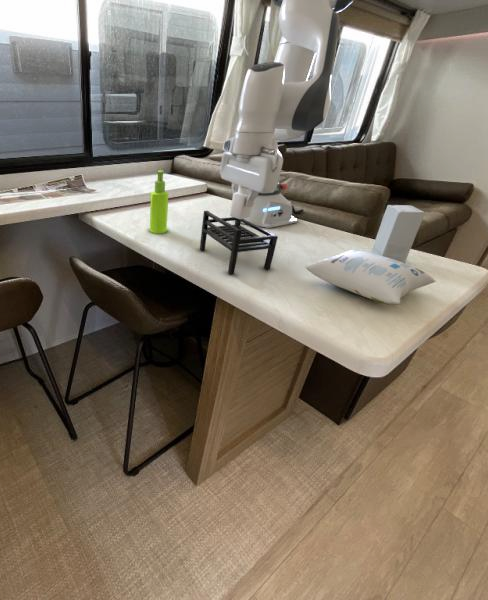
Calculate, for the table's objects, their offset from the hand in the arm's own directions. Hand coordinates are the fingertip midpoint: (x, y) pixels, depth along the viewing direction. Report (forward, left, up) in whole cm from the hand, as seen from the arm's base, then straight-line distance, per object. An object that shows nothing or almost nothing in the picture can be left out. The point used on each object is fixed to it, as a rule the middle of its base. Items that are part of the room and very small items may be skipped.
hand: (241, 203), depth 85 cm
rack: (0, 0, -16) cm, 16 cm away
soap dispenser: (+12, -30, -16) cm, 36 cm away
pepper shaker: (0, 0, -4) cm, 4 cm away
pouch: (-20, +24, -16) cm, 35 cm away
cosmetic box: (-40, +13, -16) cm, 45 cm away
